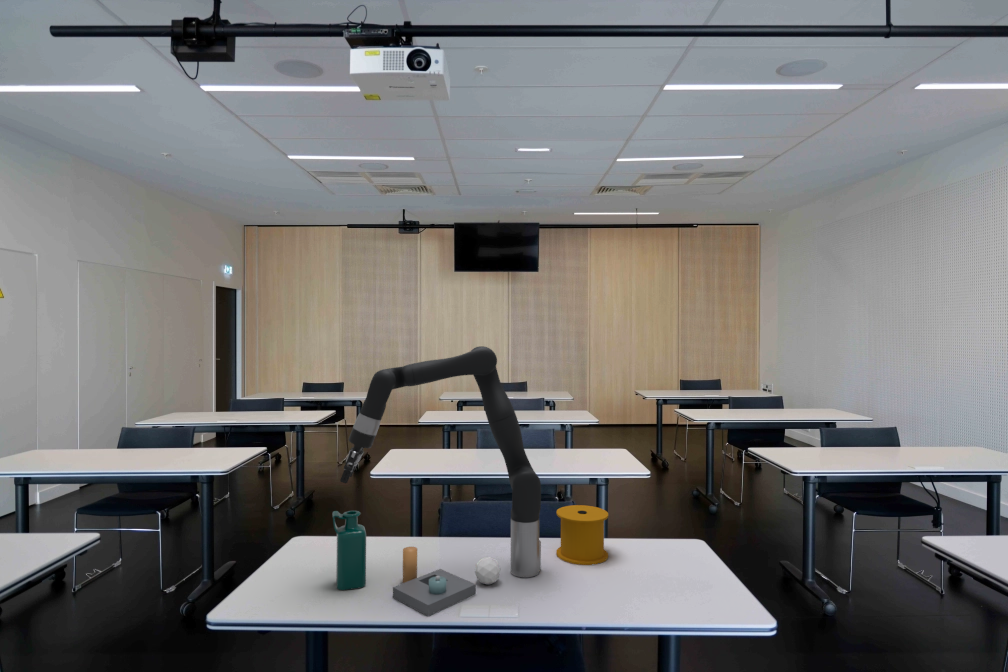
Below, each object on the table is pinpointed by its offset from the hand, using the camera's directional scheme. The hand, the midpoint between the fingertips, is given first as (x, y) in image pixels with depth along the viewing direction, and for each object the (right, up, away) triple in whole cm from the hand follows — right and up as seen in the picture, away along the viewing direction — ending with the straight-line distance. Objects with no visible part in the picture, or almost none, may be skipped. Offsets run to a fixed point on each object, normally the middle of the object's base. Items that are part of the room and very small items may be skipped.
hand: (345, 479), depth 172 cm
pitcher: (+2, -32, -3) cm, 32 cm away
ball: (+44, -32, -2) cm, 54 cm away
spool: (+77, -32, +22) cm, 86 cm away
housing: (+29, -31, -11) cm, 44 cm away
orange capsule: (+20, -31, -1) cm, 37 cm away
